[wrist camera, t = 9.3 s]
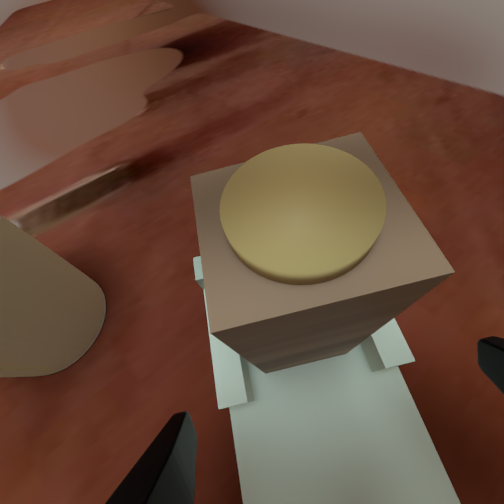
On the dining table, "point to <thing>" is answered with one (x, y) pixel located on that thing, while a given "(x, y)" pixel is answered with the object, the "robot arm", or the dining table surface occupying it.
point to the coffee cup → (43, 307)
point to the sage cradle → (330, 427)
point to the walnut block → (309, 251)
